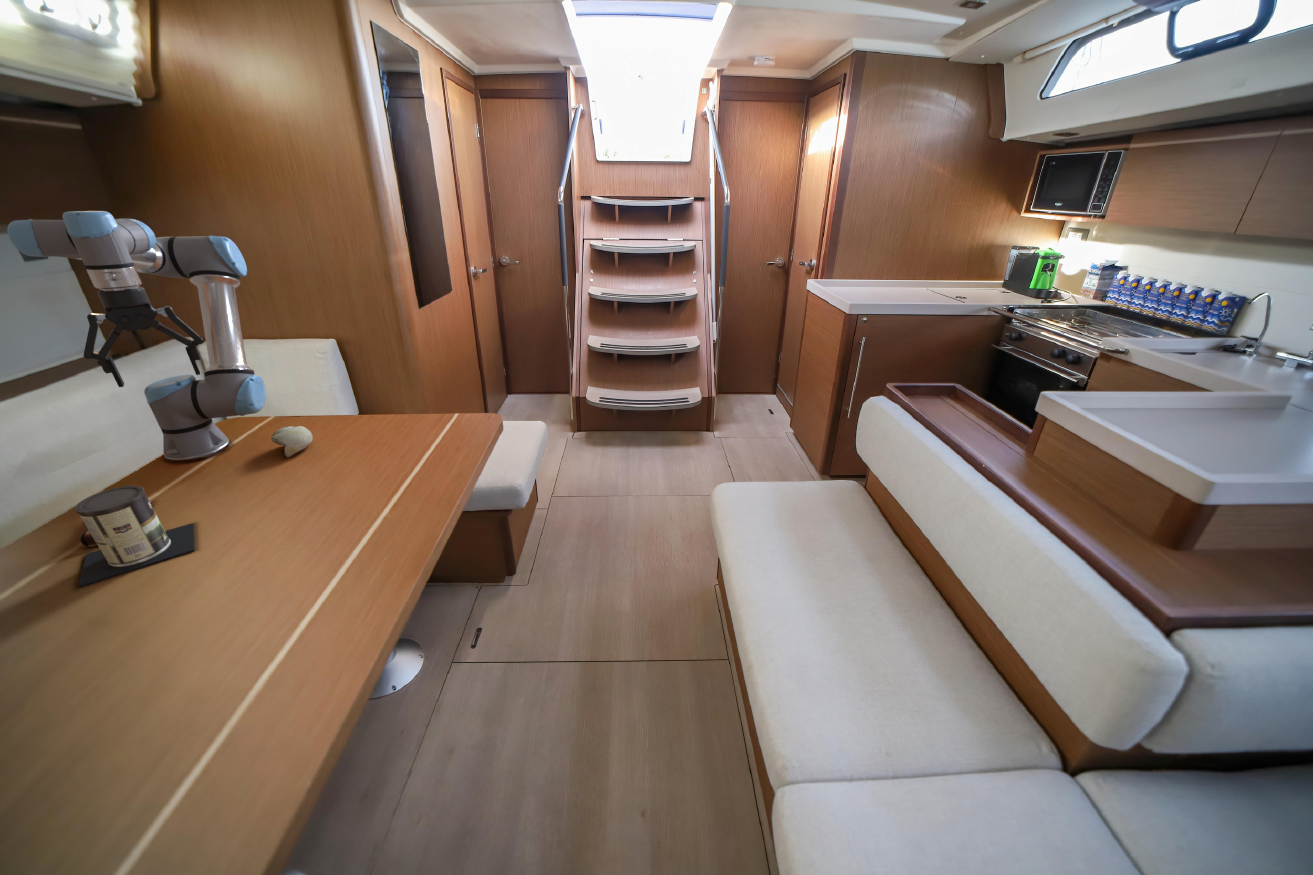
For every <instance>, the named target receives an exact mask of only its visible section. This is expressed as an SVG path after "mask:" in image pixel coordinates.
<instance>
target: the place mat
mask: <svg viewBox="0 0 1313 875" xmlns="http://www.w3.org/2000/svg"><path fill="white" fill-rule="evenodd" d="M194 524H195V523H194V522H192V523H189V524H184V525H182V526H178V527H174V528H171V529H168V530H165V532H166V534H167V536H168V538H169V539H170V541H171V544H170V546H169V547H168V548H167V549H166V550H165V551H163V552H162V553H160V554H159V555H157V556H155V557H153V558H151V559H149V560H147V561H144V562H141V563H138V564H134V565H130V566H124V567H114V566H111V565H109V564H108V561H107V559H106V558H105V556H104V554H103V553H102V551H101V549H99V550H96V551H92V552H88V553H86V555H85V558H84V562H83V565H82V569H81V573H80V578H79V580H78V585H77V587H78V588H83V587H85V586H89V585H92V584H95V583H97V582H101V581H105V580H107V579H110V578H114V577H116V576H120V575H123V574H126V573H130V572H132V571H135V570H139V569H142V568H144V567H148V566H152V565H154V564H158V563H160V562H164V561H167V560H170V559H174V558H177V557H179V556H183V555H186V554H189V553H192V552H195V551H196V547H195V546H196V544H195V525H194Z"/></svg>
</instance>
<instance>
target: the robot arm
mask: <svg viewBox="0 0 1313 875" xmlns="http://www.w3.org/2000/svg"><path fill="white" fill-rule="evenodd" d="M61 217H62V219H32V218H28V219H18V220H13V221H10V223H9V224H8V225H7V229H6V230H7V235H8V238H9V241H10V242H11V244H12V245H13V246H14V248H15V249H17V250H18V251H19V252H20V253H21V254H23V255H25V256H28V257H39V258H40V257H42V258H49V257H56V258H57V257H58V258H66V259H75V260H80V261H81V262H82V263H83V265H84V267H85V270H86V272H87V274H88V277H89V279H90V281H91V283H92V285H93V287H94V288H96V289H98V291H97V293H96V294H97V296H98V298H99V300H100V302H101V304H102V306H103V308H104V311H105V313H94V312H89V313H88V314H87V316H86V318H87V322H88V325H89V326H88V332H87V337H86V341H85V346H84V350H83V358H84V359H86V360H87V359H92V360H97V361H98V362H99V364H100V366H101V368H102V371H103V372H104V373H105V374H111V375H112V377H113V378H114V380H115V383H116V385H117V386H118V388H123V387H124V386H125V382H124V380H123V378H122V375H121V373H120V371H119V370H118V368H117V366H116V365H117V364H116V363H115V361H114V359H113V358H112V356H107V355H108V354H109V352H110V351H111V349H112V348H113V346H114V344H115V343H116V341H117V340H118V338H119V336H120V335H121V333H122V332H123V331H126V332H130V333H131V332H136V331H146V330H149V329H151V328H153V329H154V330H156V331H160V332H161V333H163V334H164V335H167V336H169V337H170V338H171V339H173V340H176V341H177V342H179V343H181V344H183V345H185V351H186V354H187V356H188V358H189V361H190V363H191V366H192V368H193V371H194V373H195V375H196V376H201V370H200V369H199V366H198V363H197V361H200V360H201V356H200V353H199V351H198V346H200V345H202V344H204V338H203V337H202V336H201V335H200V334H198V333H197V332H196V331H195V330H194V329H192V328H191V326H189V325H188V324H187V323H186V322H184V321H183V319H181V318H180V317H179V316H178V315H176V313H175V311H174V310H173V308H172V306H170V305H165V306H164V307H159V308H155V307H154V306H153V305H152V303H151V300H150V299H149V296H148V293H147V291H146V289H145V288H144V287H143V286H141V285H142V284H143V282H142V279H141V277H140V275H139V273H141V274H148V275H153V276H159V277H165V278H174V279H189V282H190V283H191V284H192V285H194V286H195V287H196V288H197V292H198V300H199V306H200V312H201V318H202V324H203V332H204V337H205V343H206V345H205V346H206V350H207V357H208V358H207V359H208V363H209V364H208V365H209V366H208V368H207V369H205V370H204V371H203V375H204V379H197V378H196V377H195V376H194V375H193V374H179V375H175V376H170V377H165V378H163V379H159V380H157V381H155V382H152V383H150V384H148V385H147V386H146V387H145V388H144V391H143V393H144V396H145V399H146V403H147V405H148V406H149V408H150V410H151V412H152V415H153V416H154V418H155V420H156V423H157V424H158V426H159V428H160V430H161V433H162V439H163V441H162V443H163V444H162V445H163V446H162V448H163V449H162V450H163V456H164V458H165V461H167V462H169V463H173V464H174V463H176V464H182V463H183V464H185V463H191V462H196V461H201V460H204V459H208V458H211V457H213V456H217V455H219V454H221V453H223V452H225V451H226V450H227V449H228V448H229V447H230V446H231V442H230V439H229V438H228V436H227V435H226V434H225V433H224V432H223V431H222V430H221V428H219V427H218V426H217V425H216V424H215V423H214V420H213V419H219V418H227V417H229V418H230V417H237V416H240V417H244V416H247V415H253V414H257V413H259V412H261V410H263V408H264V406H265V403H266V399H267V390H266V386H265V384H264V380H263V378H262V377H261V376H259V375H257V374H255V370H254V369H253V368H251V367H249V365H248V362H247V358H246V357H247V356H246V351H245V344H244V337H243V332H242V325H241V319H240V311H239V306H238V299H237V292H236V289H237V288H238V287H240V286H241V278H244V277H246V276H247V275H248V267H247V264H246V261H245V258H244V256H243V254H242V252H241V251H240V248H239V247H238V245H237V244H236V243H235V242H234V241H233V240H232V239H230V238H229V237H226V236H220V235H217V236H216V235H202V236H194V235H193V236H160V237H156V234H155V233H154V231H153V230H152V229H151V228H150V226H148V225H147V224H145V222H143V221H140V220H137V219H134V218H127V217H125V218H120V217H119V218H115V217H114V216H113V215H112V214H111V213H110V212H108V211H105V210H78V211H77V210H75V211H74V210H73V211H65V212H63V213H62V216H61ZM158 315H162V316H163V317H165V318H169V320H170V321H171V322H172V323H174V324H175V326H177V327H178V328H180V329H181V330H182V331H183V332H184V333H186V335H188V336H189V337H190V338H191V339H190V338H188V337H186V336H185V335H184V334H183V335H182V334H181V333H179V332H177V331H176V330H174V329H172V328H171V327H168V326H166V325H165V324H163V323H162V322H160V321H158V320H156V319H157V317H158ZM104 320H107V321H108V322H110V323H112V324H114V325H115V326H114V327H113V328H112V331H111V333H110V334H109V336H108V337H107V339H106V340H105V342H104V343H103V345H102V346H101V347H100V349H99V351H98V352H97V351H95V346H96V341H97V337H98V332H99V327H100V325H101V324H103V322H104Z"/></svg>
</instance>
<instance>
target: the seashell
mask: <svg viewBox="0 0 1313 875" xmlns="http://www.w3.org/2000/svg"><path fill="white" fill-rule="evenodd" d="M313 438H314V437H313V434H312V431H311V430H309V429H308V428H306V427H305V426H302V425H300V426H292V425H289V426H285V427H281V428H279V429H278V430H275V431H273V433H272V434H271V441H272V442H273V443H274V444H276V445H278V446H283V447H284V455H285V456H286V458H290V457H292V456H293V455H295V454H297V453H299V452H301V451H303V450H304V449H306V448H307V447H309V446H311V444H312V443H313Z"/></svg>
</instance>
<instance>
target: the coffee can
mask: <svg viewBox="0 0 1313 875" xmlns="http://www.w3.org/2000/svg"><path fill="white" fill-rule="evenodd" d="M149 500H150V499H149V498H148V496H147V494H146V491H145V488H144V487H142V486H140V485H125V486H119V487H114V488H110V489H106V490H103V491H100V492H97V493H95V494H92V495H90V496H87V497H86V498H84V499H82V500H81V501H79V502H78V503H77V504H75V507H74V511H75V512H76V513H77V514H78V515H79V517H80V519H81V520H82V522H83V523H84V525H85V526H86V529H87V528H88V530H89V532H90V533H91V535H92V536H93V538H94V540H95V541H96V543H97V545H98V546H97V547H98V548H99V550H101V551H102V553H103V554H104V556H105V558H106V559H107V561H108V564H109V565H111V566H114V567H124V566H130V565H134V564H138V563H141V562H144V561H147V560H149V559H151V558H153V557H155V556H157V555H159V554H160V553H162V552H163V551H165V550H166V549H167V548H168V547H169V546H170V544H171V541H170V539H169V538H168V536H167V534H166V532H165V531H166V530H165V529H164V526H163V525H162V523H161V521H160V519H159V517H158V514H157V513H156V511H155V509H154V508H153V505H152V504H150V502H149Z"/></svg>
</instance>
